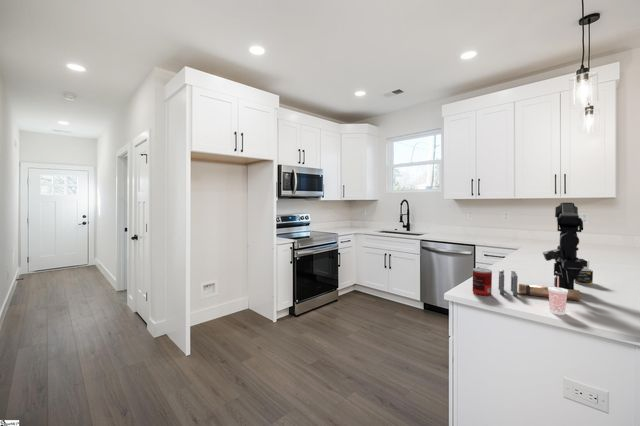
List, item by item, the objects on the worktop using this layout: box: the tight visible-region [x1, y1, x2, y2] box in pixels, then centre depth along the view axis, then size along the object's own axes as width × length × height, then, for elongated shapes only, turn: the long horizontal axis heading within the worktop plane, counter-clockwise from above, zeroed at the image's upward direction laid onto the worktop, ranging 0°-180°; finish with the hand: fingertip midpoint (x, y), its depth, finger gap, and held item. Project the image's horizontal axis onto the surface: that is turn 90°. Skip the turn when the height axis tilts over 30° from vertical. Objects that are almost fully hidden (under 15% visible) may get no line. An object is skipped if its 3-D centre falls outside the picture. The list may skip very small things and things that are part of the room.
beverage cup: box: [547, 276, 568, 316], centre depth 113 cm, size 6×6×14 cm
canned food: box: [472, 267, 493, 297], centre depth 136 cm, size 8×8×11 cm
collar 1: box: [498, 269, 505, 296], centre depth 138 cm, size 2×10×10 cm, turn 152°
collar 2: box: [510, 270, 519, 297], centre depth 136 cm, size 2×10×9 cm, turn 152°
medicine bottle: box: [574, 258, 594, 286], centre depth 152 cm, size 7×7×12 cm
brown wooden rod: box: [518, 283, 581, 302], centre depth 130 cm, size 21×4×4 cm, turn 62°
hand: (567, 280), depth 127 cm, fingers open, 9 cm apart
